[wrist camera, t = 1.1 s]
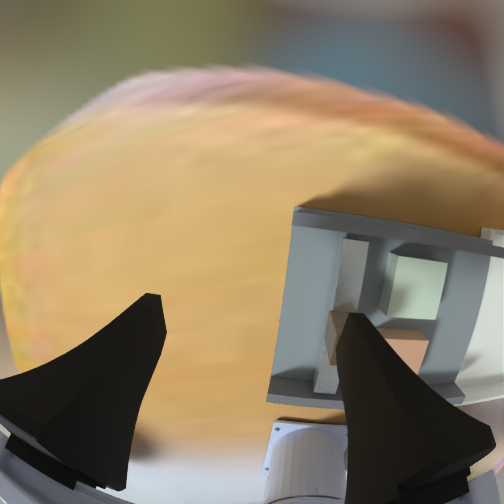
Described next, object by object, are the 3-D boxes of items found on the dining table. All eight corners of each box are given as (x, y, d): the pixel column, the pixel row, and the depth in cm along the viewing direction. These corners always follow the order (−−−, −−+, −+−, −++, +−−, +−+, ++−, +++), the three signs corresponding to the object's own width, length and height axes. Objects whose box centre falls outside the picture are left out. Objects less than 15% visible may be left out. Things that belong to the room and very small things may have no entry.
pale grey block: (335, 382, 19) (344, 427, 14) (310, 380, 19) (311, 426, 14) (365, 240, 17) (392, 249, 12) (336, 236, 18) (353, 244, 12)
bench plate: (441, 382, 20) (460, 407, 16) (271, 375, 22) (265, 405, 18) (480, 238, 18) (510, 243, 14) (294, 207, 20) (294, 204, 16)
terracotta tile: (404, 374, 19) (412, 387, 17) (360, 373, 19) (365, 387, 17) (419, 330, 18) (429, 340, 16) (373, 327, 19) (380, 338, 17)
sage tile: (424, 311, 18) (435, 319, 16) (378, 307, 18) (386, 316, 16) (435, 258, 17) (447, 263, 15) (388, 252, 18) (398, 255, 16)
